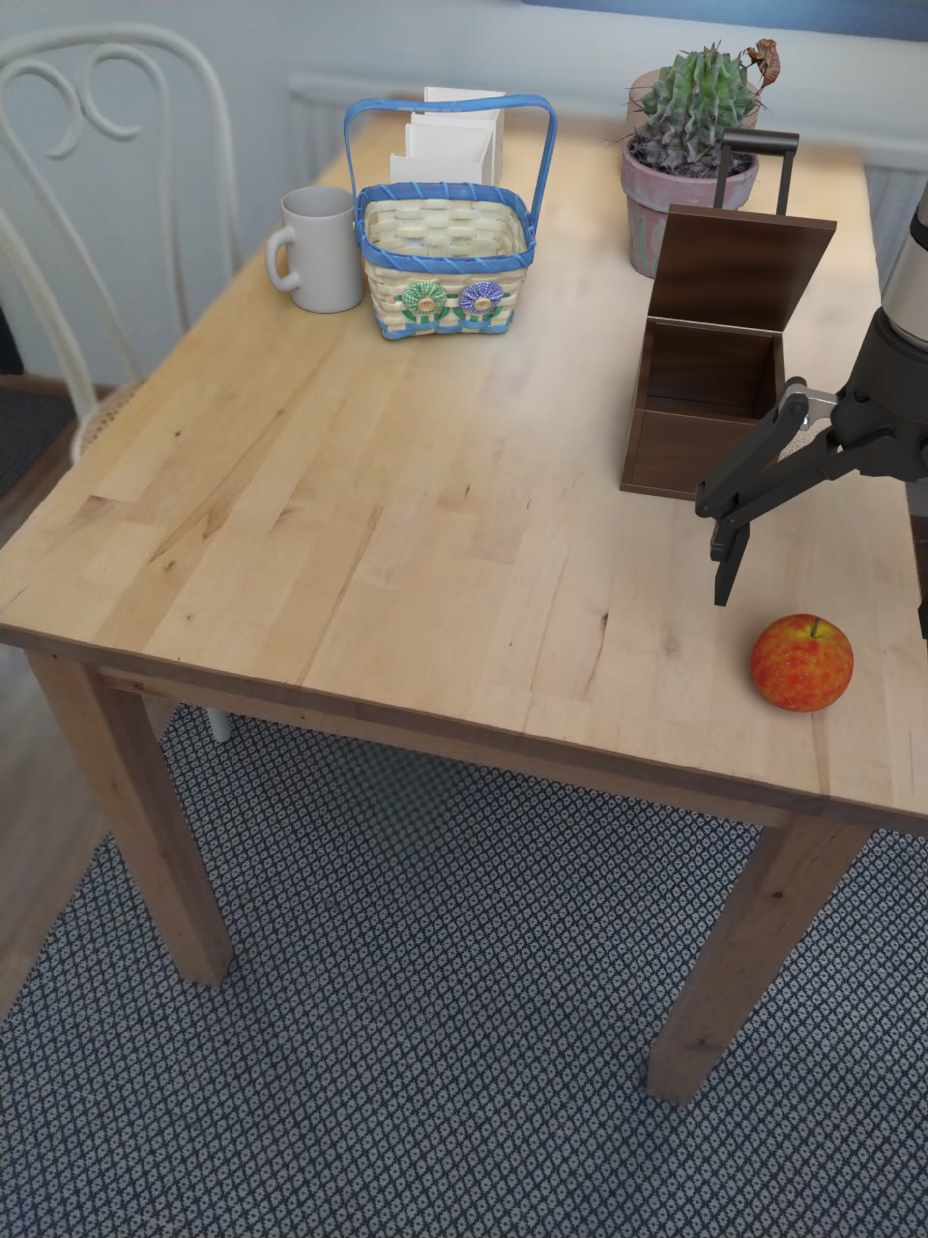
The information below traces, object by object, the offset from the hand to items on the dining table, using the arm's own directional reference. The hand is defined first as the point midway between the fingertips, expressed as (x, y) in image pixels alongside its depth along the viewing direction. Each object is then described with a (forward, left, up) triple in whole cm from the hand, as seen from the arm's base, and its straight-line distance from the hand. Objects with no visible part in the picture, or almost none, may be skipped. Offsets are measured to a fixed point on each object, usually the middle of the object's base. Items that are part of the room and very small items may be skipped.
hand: (821, 608), depth 63 cm
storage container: (+42, -76, -9) cm, 87 cm away
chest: (+8, -29, -9) cm, 31 cm away
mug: (+52, -48, -9) cm, 71 cm away
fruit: (0, 0, -9) cm, 9 cm away
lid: (+8, -32, +7) cm, 33 cm away
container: (+12, -96, -9) cm, 97 cm away
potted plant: (+13, -67, -9) cm, 69 cm away
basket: (+36, -47, -9) cm, 60 cm away
